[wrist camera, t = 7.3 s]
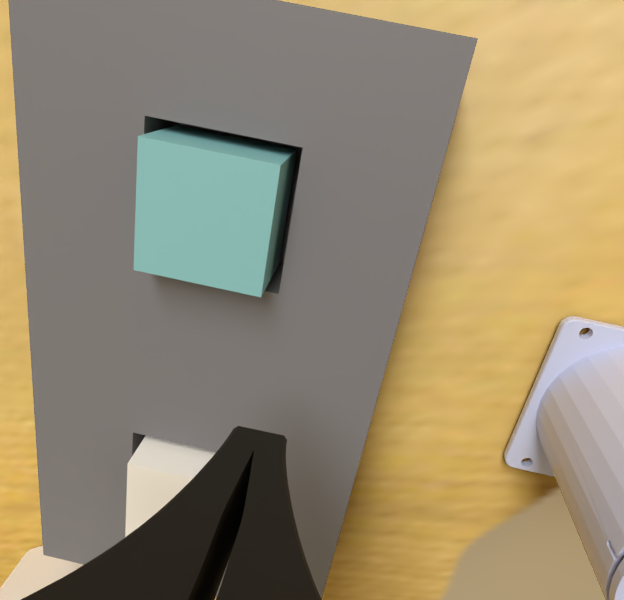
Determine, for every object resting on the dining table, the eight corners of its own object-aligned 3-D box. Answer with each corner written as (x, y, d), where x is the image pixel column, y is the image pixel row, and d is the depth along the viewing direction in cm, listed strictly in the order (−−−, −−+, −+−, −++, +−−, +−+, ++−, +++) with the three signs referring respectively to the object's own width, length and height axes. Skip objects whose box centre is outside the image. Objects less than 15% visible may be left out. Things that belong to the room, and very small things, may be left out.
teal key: (296, 149, 18) (280, 165, 16) (278, 264, 20) (261, 297, 17) (176, 125, 19) (138, 136, 16) (169, 240, 20) (133, 269, 18)
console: (459, 43, 18) (477, 38, 15) (323, 551, 29) (315, 620, 26) (77, -30, 19) (5, -52, 15) (84, 495, 30) (43, 554, 26)
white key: (251, 436, 24) (232, 487, 21) (240, 506, 26) (221, 562, 23) (158, 415, 24) (127, 463, 21) (153, 486, 26) (125, 539, 23)
